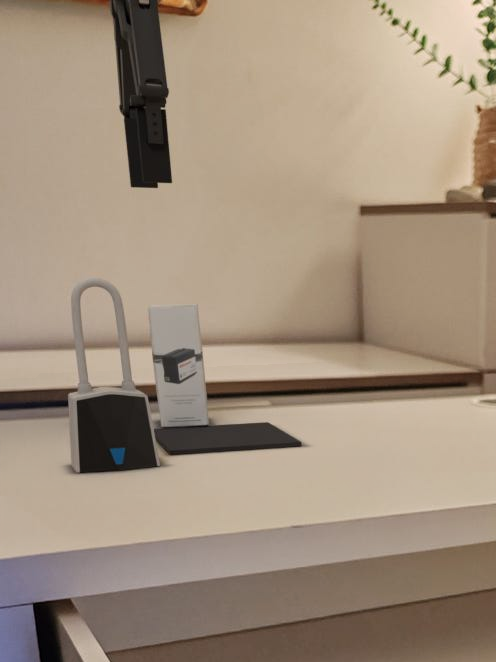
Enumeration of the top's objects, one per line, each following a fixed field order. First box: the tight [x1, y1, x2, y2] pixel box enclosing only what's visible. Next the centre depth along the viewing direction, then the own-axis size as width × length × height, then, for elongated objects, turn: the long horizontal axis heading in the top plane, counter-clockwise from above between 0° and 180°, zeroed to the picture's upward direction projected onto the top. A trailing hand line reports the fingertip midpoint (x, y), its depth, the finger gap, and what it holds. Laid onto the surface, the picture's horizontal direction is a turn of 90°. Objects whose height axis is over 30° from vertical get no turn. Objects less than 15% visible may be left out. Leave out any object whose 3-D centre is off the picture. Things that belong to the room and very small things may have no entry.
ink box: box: [147, 303, 210, 428], centre depth 105 cm, size 9×5×12 cm, turn 16°
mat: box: [154, 421, 302, 456], centre depth 100 cm, size 13×12×1 cm
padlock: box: [67, 277, 161, 474], centre depth 84 cm, size 7×4×15 cm, turn 117°
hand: (150, 185), depth 106 cm, fingers open, 9 cm apart
